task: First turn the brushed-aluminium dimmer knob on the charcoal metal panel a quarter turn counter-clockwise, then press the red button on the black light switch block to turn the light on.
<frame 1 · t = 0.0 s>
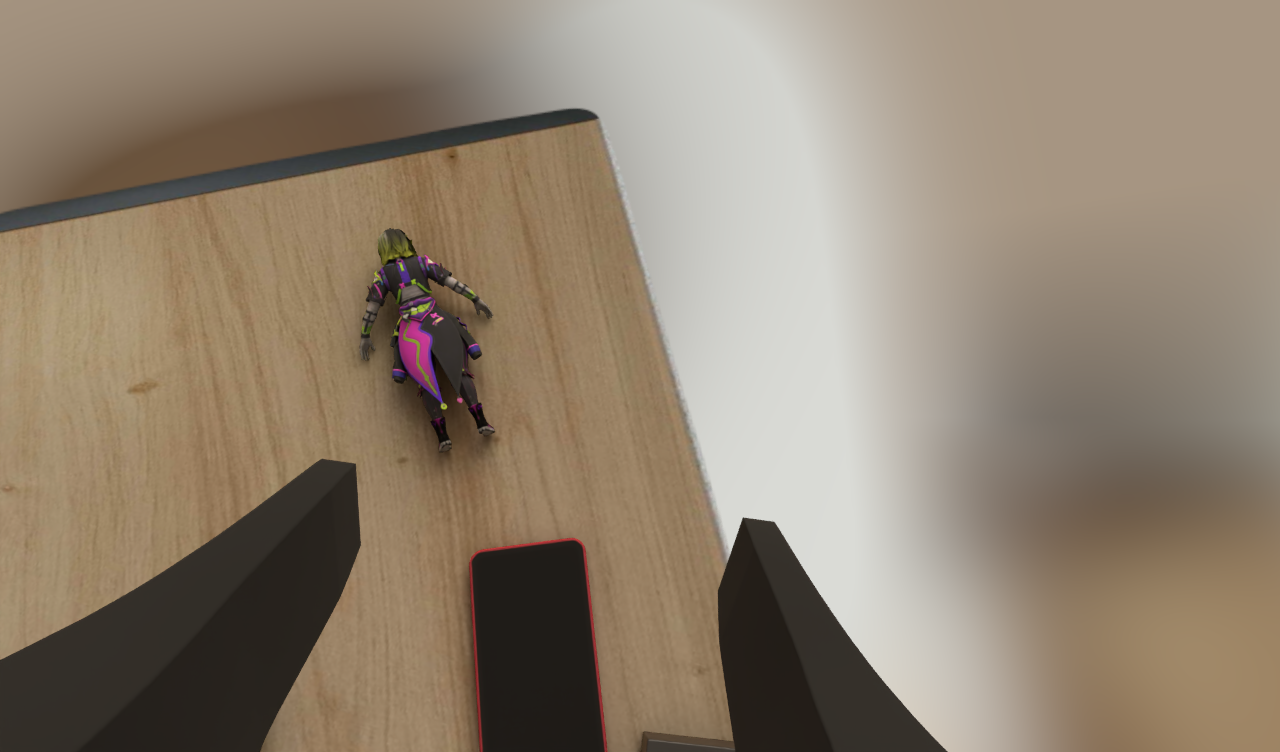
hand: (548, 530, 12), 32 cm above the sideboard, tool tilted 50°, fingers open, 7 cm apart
character figure: (431, 342, 47), on the sideboard
smartphone: (537, 667, 41), on the sideboard
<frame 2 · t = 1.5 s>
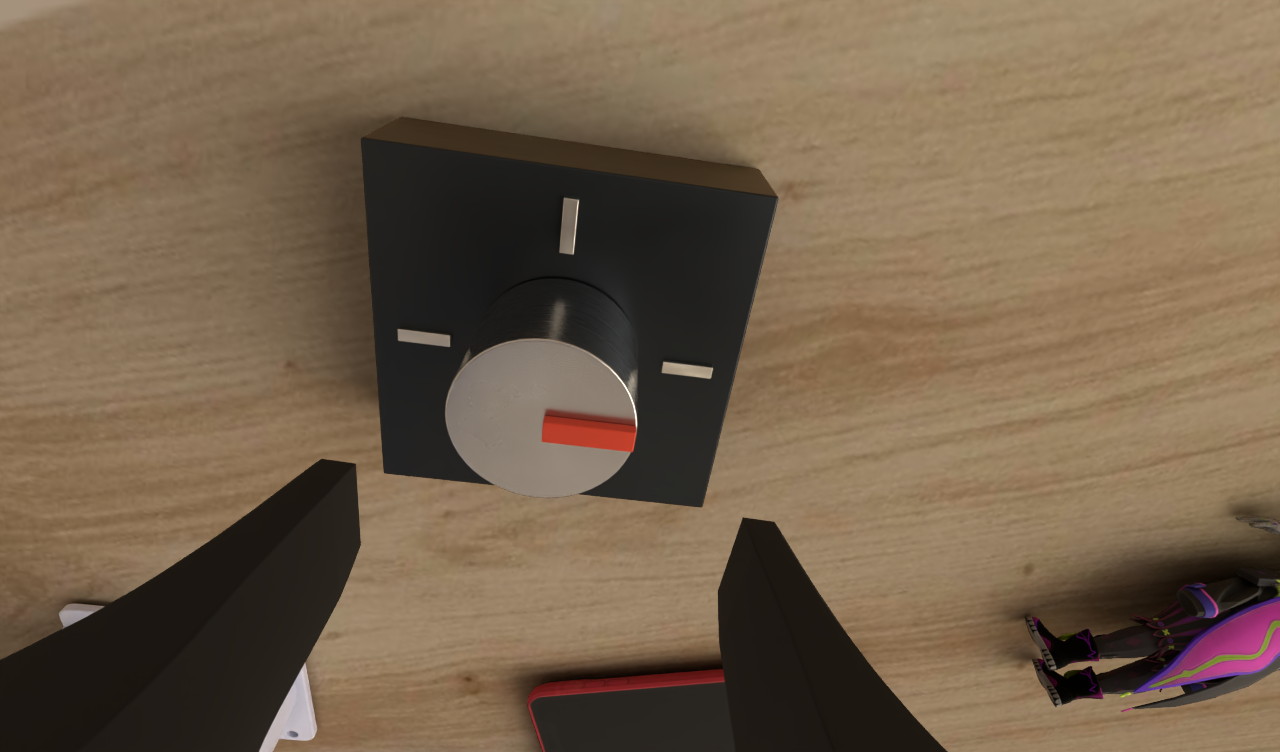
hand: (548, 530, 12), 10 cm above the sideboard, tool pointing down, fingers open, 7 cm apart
dimmer knob: (549, 388, 16), point 5 cm above the sideboard, hinge at 0.0°
character figure: (1222, 587, 27), on the sideboard
smartphone: (697, 710, 31), on the sideboard
dimmer panel: (568, 307, 21), on the sideboard
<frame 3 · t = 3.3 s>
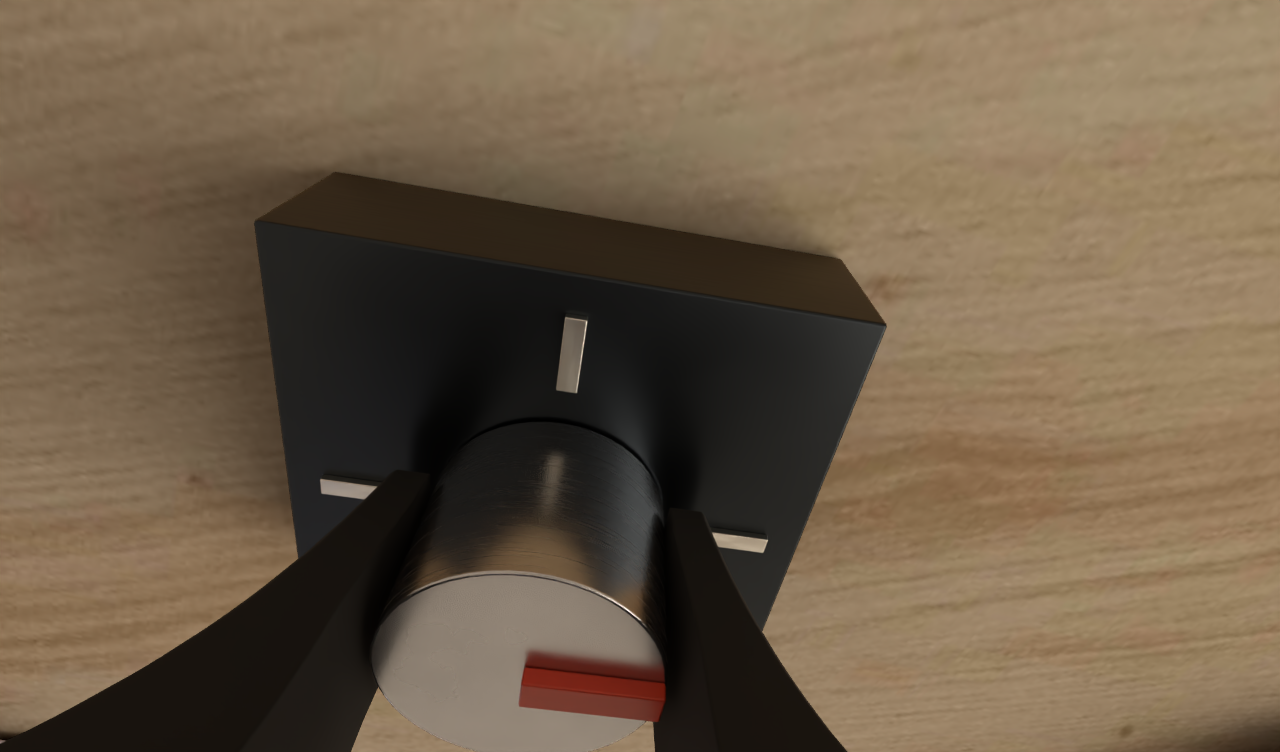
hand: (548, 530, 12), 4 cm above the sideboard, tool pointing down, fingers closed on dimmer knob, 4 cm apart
dimmer knob: (535, 591, 11), point 5 cm above the sideboard, hinge at 0.1°, touching gripper
dimmer panel: (566, 423, 15), on the sideboard
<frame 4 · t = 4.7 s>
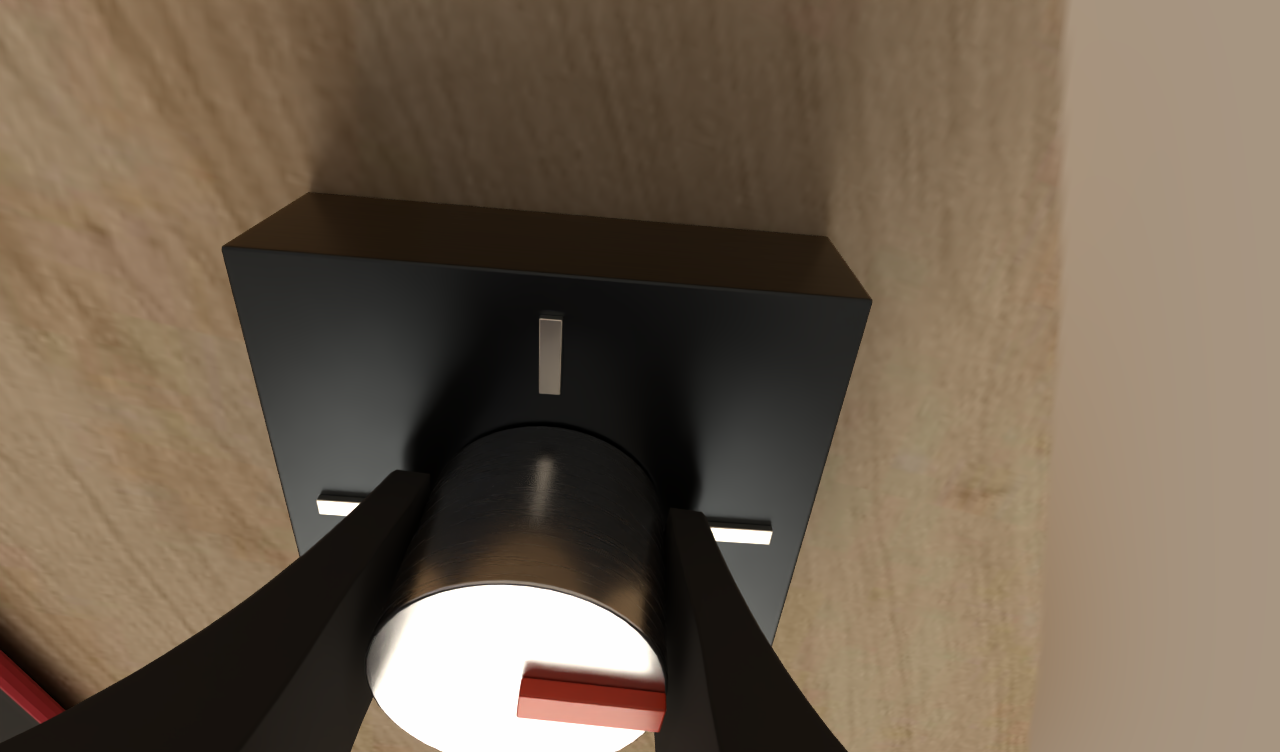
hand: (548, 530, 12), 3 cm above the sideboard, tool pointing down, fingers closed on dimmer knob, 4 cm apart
dimmer knob: (533, 598, 11), point 5 cm above the sideboard, hinge at 85.4°, touching gripper
dimmer panel: (564, 426, 15), on the sideboard
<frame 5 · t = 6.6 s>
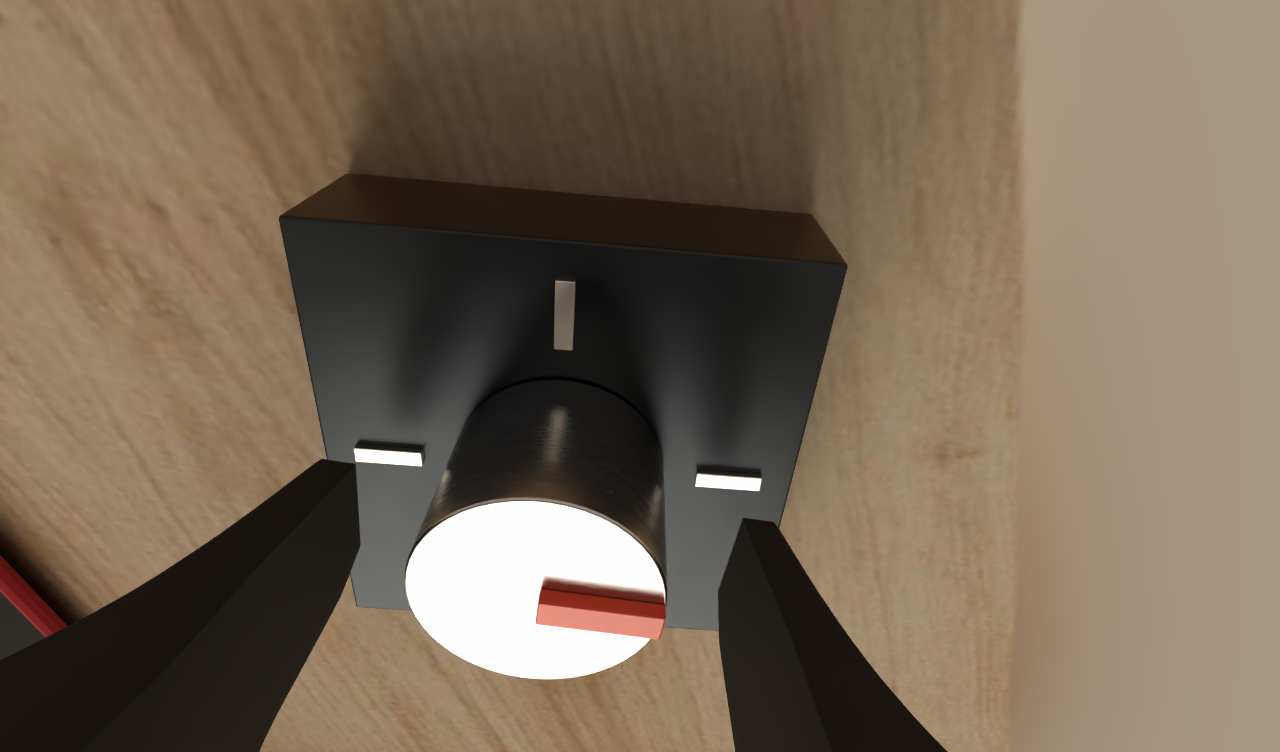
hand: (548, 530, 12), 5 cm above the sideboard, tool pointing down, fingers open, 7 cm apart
dimmer knob: (548, 530, 12), point 5 cm above the sideboard, hinge at 85.0°
dimmer panel: (574, 390, 17), on the sideboard
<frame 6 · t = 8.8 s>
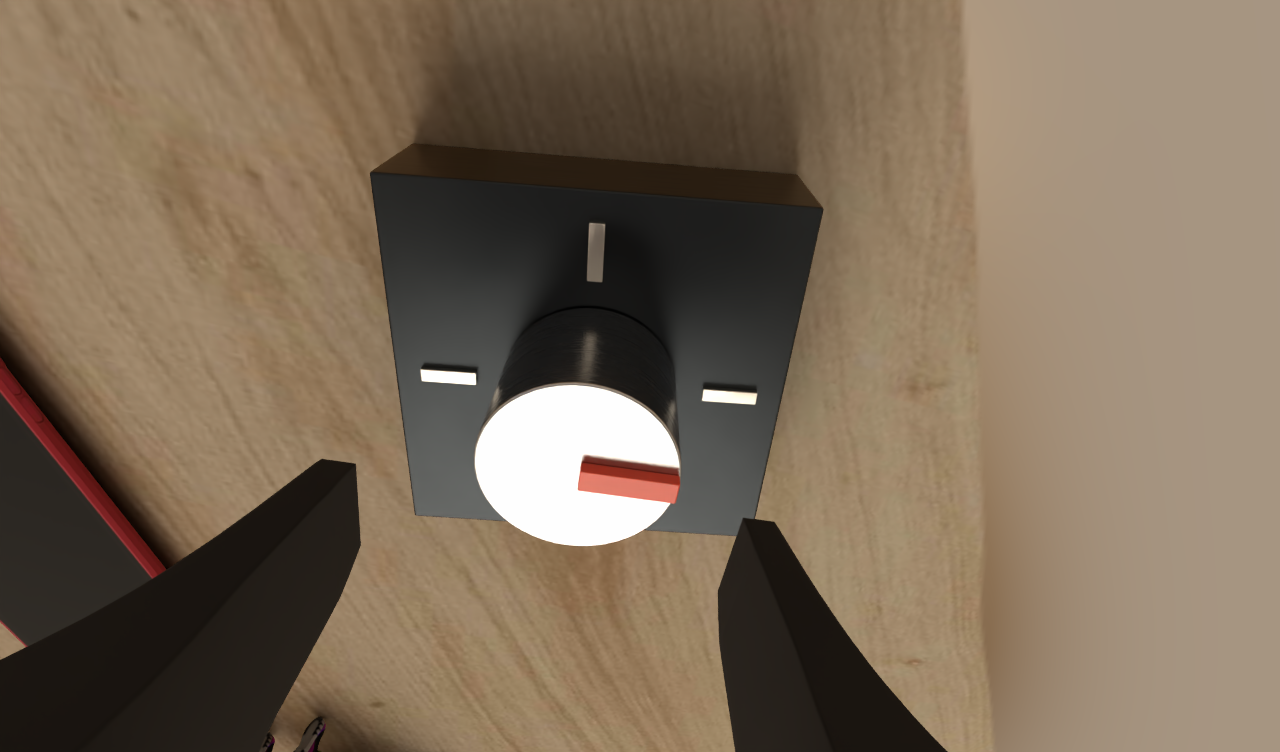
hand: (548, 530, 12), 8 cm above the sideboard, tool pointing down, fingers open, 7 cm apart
dimmer knob: (583, 427, 15), point 5 cm above the sideboard, hinge at 85.0°
smartphone: (17, 489, 23), on the sideboard
dimmer panel: (598, 331, 20), on the sideboard
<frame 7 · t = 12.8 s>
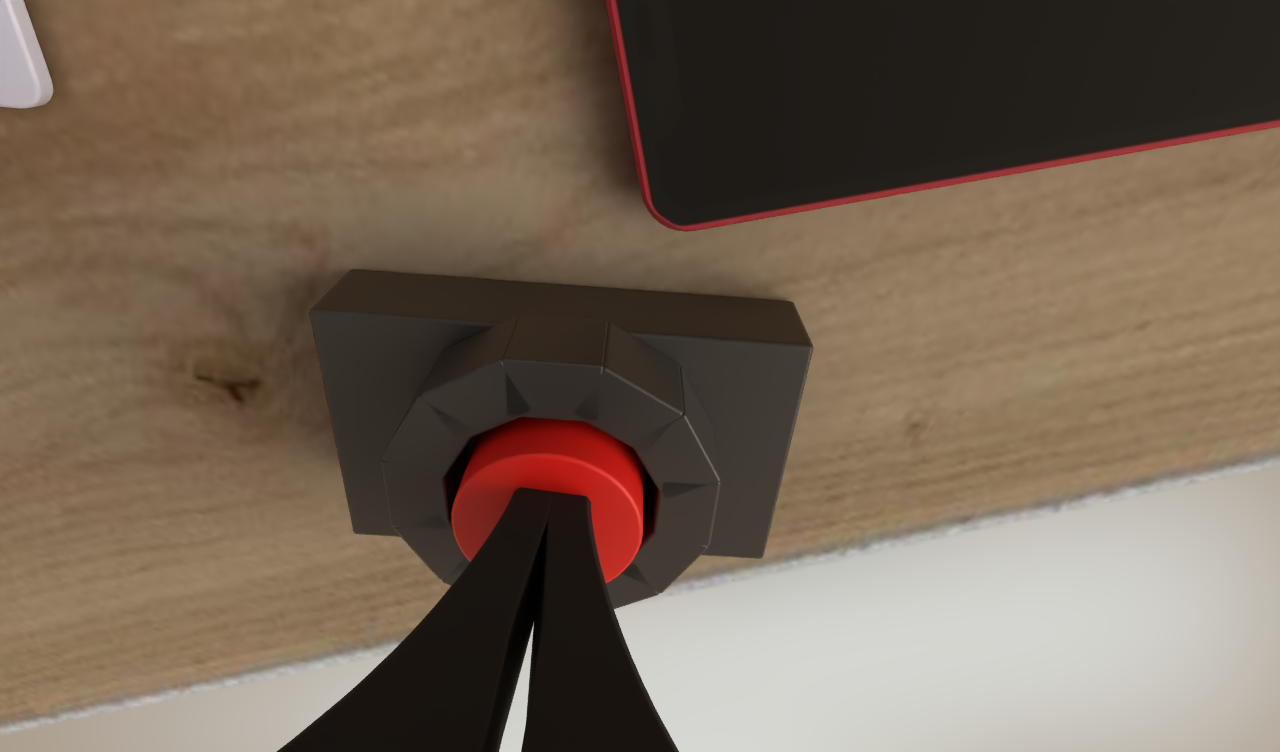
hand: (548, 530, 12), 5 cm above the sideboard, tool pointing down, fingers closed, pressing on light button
light switch: (571, 395, 16), on the sideboard
light button: (552, 499, 13), point 4 cm above the sideboard, slide at -0.6 cm, touching gripper
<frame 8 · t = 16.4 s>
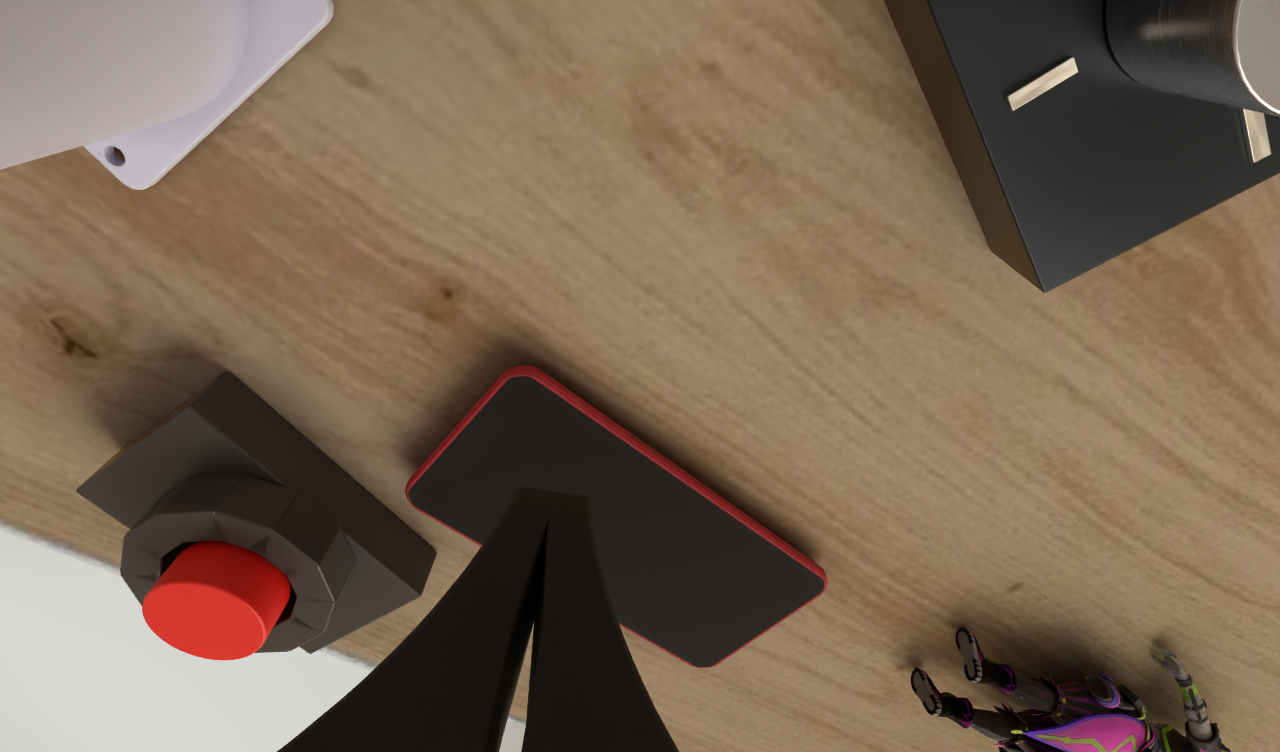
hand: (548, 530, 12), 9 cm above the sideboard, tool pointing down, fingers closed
light switch: (286, 503, 25), on the sideboard
character figure: (1072, 694, 30), on the sideboard
light button: (219, 600, 21), point 4 cm above the sideboard, slide at 0.1 cm
smartphone: (626, 523, 25), on the sideboard
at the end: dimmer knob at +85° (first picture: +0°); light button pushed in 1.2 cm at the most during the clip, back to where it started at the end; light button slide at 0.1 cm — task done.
